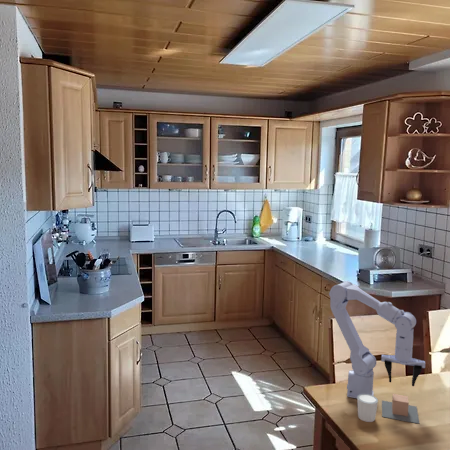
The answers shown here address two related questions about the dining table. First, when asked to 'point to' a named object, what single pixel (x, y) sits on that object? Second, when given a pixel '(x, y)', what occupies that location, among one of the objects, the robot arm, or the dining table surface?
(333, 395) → the dining table surface
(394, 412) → the terracotta block
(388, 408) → the slate mat
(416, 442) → the dining table surface
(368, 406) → the white cup
